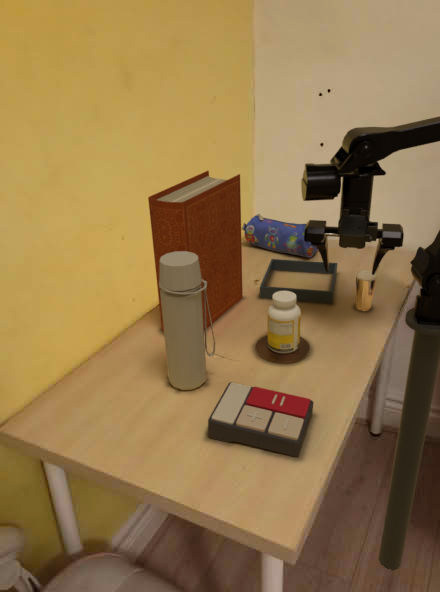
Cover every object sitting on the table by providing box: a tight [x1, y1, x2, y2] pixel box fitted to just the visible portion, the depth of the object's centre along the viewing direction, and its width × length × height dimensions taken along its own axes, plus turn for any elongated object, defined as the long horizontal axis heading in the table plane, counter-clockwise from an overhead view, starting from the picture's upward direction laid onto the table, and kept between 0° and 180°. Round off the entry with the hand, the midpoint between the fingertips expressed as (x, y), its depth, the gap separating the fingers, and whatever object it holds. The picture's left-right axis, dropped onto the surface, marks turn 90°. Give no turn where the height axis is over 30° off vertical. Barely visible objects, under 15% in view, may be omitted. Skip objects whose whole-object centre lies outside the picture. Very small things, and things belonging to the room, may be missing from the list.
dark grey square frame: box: [259, 258, 338, 305], centre depth 135 cm, size 17×17×3 cm
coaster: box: [255, 334, 311, 365], centre depth 110 cm, size 11×11×1 cm
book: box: [147, 170, 243, 333], centre depth 117 cm, size 23×8×30 cm, turn 149°
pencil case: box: [241, 213, 319, 259], centre depth 154 cm, size 22×9×10 cm, turn 53°
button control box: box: [207, 381, 314, 458], centre depth 89 cm, size 11×4×15 cm
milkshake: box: [355, 265, 380, 312], centre depth 122 cm, size 4×5×10 cm
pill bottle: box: [267, 291, 302, 354], centre depth 107 cm, size 6×6×12 cm
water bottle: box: [159, 251, 216, 391], centre depth 96 cm, size 9×8×25 cm
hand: (349, 272), depth 111 cm, fingers open, 9 cm apart
